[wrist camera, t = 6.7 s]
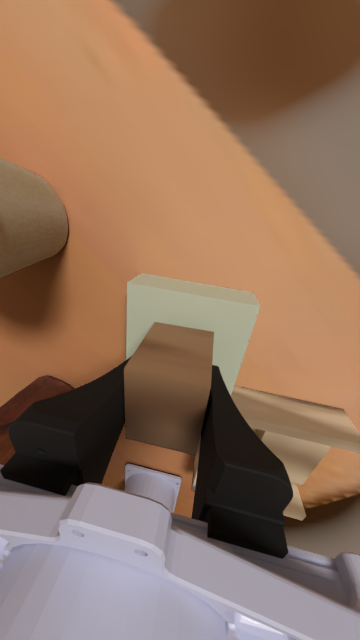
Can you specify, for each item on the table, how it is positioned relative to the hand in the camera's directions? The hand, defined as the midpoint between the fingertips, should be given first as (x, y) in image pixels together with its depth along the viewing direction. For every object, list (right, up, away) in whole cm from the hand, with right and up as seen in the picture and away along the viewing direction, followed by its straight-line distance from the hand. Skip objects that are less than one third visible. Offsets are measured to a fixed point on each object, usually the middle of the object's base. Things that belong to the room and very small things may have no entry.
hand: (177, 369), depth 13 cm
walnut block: (0, +1, +1) cm, 1 cm away
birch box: (+9, -10, +9) cm, 16 cm away
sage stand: (+1, +2, +5) cm, 5 cm away
